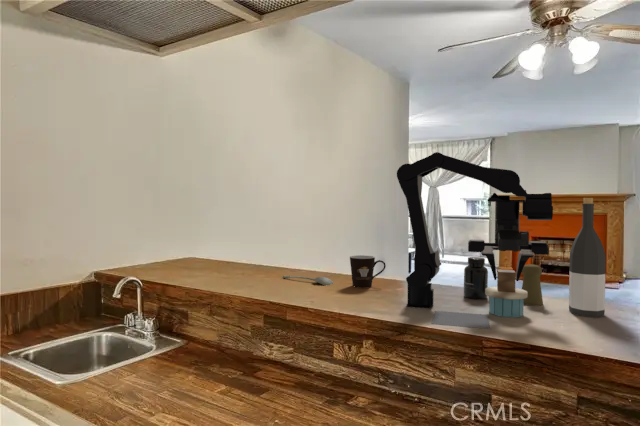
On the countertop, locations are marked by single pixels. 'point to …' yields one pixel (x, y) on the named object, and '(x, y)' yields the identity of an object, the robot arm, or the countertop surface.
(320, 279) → the soupspoon
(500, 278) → the wooden lid
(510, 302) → the ceramic bowl
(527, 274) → the cork
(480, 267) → the supplement bottle
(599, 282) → the wine bottle
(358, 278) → the coffee mug
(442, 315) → the rubber mat
